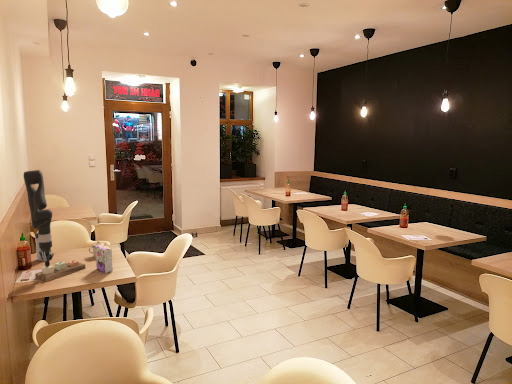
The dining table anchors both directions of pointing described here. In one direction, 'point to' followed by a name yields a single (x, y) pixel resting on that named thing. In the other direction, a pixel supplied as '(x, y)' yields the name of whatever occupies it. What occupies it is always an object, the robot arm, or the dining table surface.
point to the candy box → (104, 258)
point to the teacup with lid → (94, 247)
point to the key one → (47, 270)
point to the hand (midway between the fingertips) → (47, 266)
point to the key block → (59, 272)
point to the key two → (60, 266)
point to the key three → (73, 263)
